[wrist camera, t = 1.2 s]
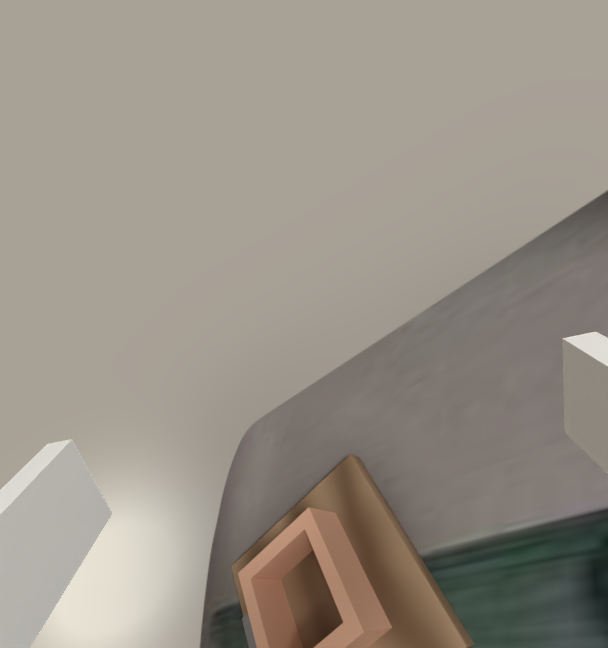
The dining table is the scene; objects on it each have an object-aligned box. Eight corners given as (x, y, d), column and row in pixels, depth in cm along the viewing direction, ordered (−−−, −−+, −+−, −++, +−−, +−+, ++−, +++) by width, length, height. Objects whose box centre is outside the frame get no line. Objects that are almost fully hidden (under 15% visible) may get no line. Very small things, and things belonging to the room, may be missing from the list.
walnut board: (359, 457, 38) (350, 453, 37) (474, 644, 26) (466, 646, 25) (241, 566, 41) (231, 566, 40) (297, 778, 29) (284, 785, 28)
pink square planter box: (335, 512, 35) (308, 507, 33) (392, 627, 28) (364, 632, 26) (262, 578, 37) (232, 578, 35) (299, 702, 30) (264, 713, 28)
